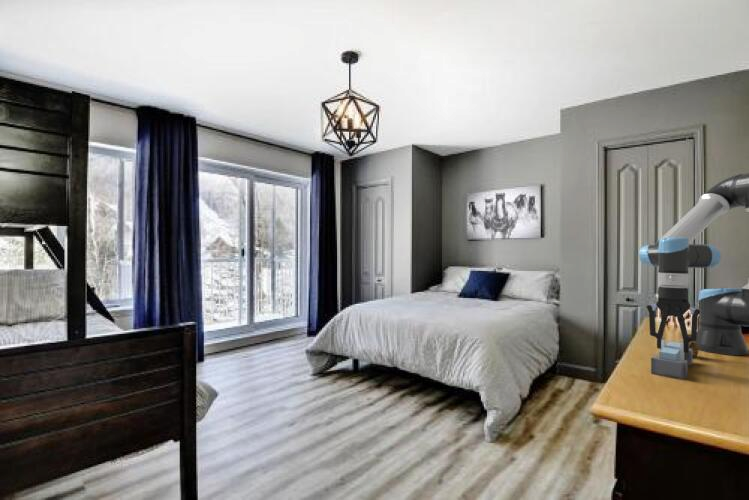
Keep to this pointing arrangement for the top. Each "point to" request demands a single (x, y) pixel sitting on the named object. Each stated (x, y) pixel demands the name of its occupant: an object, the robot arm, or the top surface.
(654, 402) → the top surface
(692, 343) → the rock
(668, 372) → the end caps
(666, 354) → the slat
